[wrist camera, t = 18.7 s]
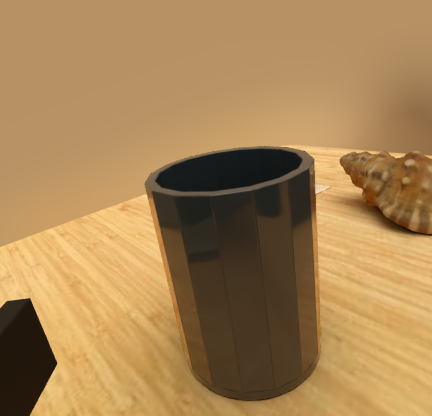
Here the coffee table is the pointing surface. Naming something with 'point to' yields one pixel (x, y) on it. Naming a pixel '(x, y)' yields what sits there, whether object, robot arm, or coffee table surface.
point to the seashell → (395, 186)
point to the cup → (242, 266)
